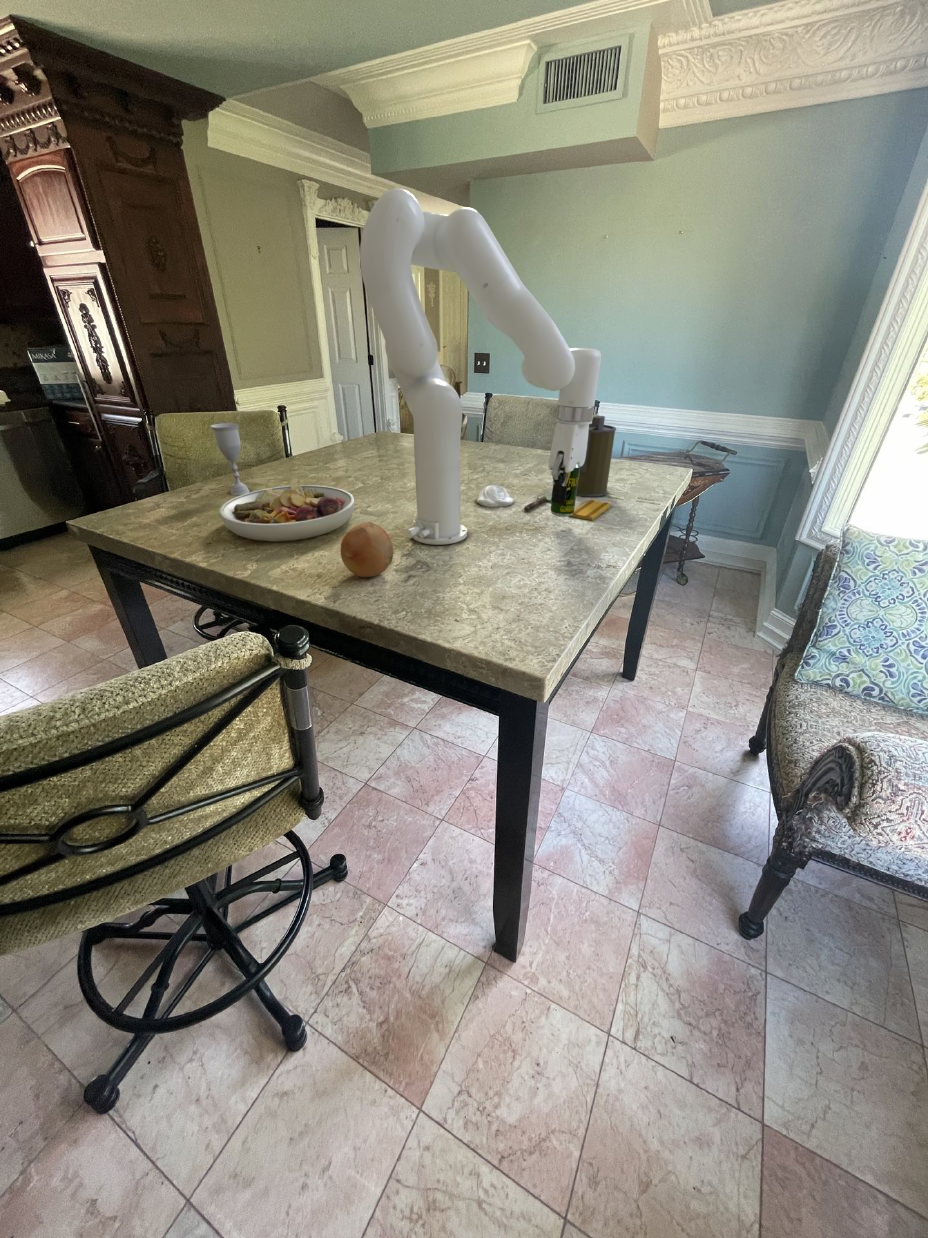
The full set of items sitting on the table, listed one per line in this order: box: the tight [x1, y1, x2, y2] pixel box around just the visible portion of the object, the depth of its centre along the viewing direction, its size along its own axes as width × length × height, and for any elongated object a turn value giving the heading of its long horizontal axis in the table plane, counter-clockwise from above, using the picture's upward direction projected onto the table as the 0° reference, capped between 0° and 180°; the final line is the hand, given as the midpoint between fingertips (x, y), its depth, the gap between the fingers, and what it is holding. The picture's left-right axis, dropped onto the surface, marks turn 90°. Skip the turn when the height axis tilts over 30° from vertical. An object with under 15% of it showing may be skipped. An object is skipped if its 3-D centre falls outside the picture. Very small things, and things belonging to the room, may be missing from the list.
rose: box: [476, 484, 514, 508], centre depth 133 cm, size 10×4×10 cm
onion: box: [340, 521, 394, 579], centre depth 92 cm, size 10×10×10 cm
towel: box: [571, 499, 612, 521], centre depth 127 cm, size 13×6×1 cm, turn 146°
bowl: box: [219, 484, 356, 542], centre depth 118 cm, size 30×30×8 cm
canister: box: [576, 415, 617, 498], centre depth 137 cm, size 11×10×20 cm
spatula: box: [523, 491, 552, 512], centre depth 132 cm, size 17×4×1 cm, turn 146°
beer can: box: [550, 462, 580, 518], centre depth 113 cm, size 5×5×12 cm
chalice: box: [210, 422, 251, 496], centre depth 137 cm, size 7×7×18 cm
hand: (563, 498), depth 114 cm, fingers closed on beer can, 5 cm apart
